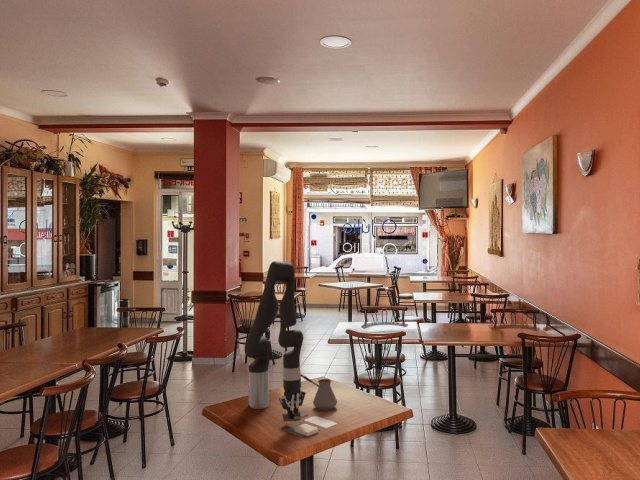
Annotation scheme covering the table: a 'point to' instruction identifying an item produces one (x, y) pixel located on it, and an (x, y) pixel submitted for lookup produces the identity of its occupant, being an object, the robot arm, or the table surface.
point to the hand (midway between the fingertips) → (293, 417)
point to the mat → (292, 430)
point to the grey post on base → (294, 417)
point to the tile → (306, 429)
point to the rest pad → (320, 421)
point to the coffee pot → (323, 395)
